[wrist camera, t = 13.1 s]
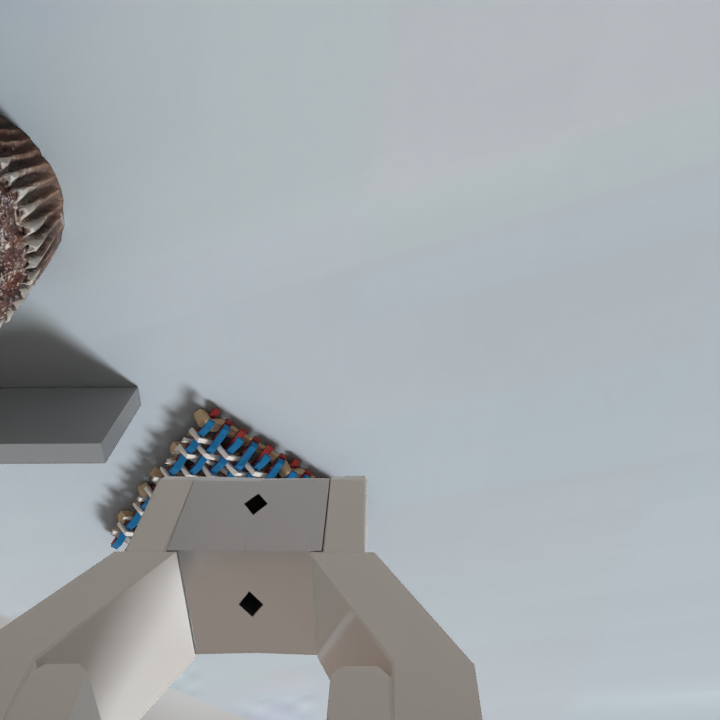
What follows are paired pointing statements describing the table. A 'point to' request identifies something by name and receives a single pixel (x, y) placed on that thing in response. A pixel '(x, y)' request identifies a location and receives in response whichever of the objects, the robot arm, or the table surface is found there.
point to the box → (64, 423)
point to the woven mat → (210, 464)
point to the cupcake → (25, 216)
